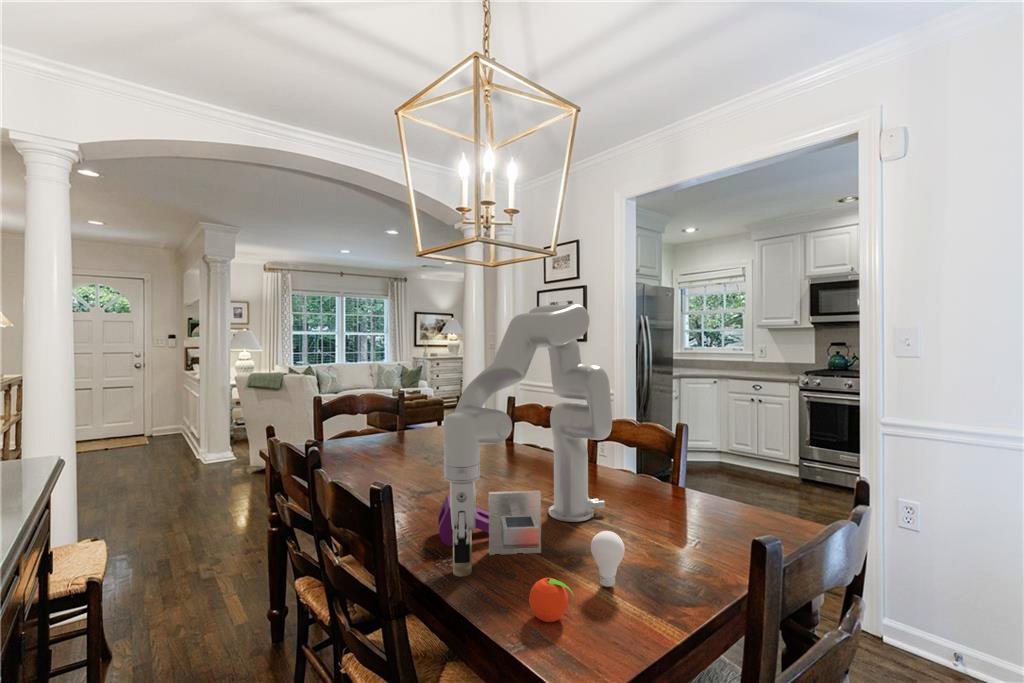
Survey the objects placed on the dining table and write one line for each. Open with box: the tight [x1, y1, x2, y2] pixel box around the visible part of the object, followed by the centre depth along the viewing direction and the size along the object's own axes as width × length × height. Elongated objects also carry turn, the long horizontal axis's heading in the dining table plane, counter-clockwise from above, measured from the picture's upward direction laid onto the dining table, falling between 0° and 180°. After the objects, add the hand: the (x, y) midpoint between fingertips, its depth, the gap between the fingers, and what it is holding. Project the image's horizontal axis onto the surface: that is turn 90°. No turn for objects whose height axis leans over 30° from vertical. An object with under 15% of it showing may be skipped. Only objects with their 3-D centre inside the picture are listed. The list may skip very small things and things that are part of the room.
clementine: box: [528, 577, 575, 623], centre depth 86 cm, size 8×7×7 cm
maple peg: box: [452, 526, 473, 578], centre depth 103 cm, size 4×4×12 cm
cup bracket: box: [488, 489, 542, 556], centre depth 106 cm, size 12×15×14 cm
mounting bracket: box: [437, 494, 489, 547], centre depth 122 cm, size 9×8×18 cm
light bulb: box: [590, 530, 626, 589], centre depth 97 cm, size 7×7×11 cm
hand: (462, 556), depth 103 cm, fingers closed on maple peg, 4 cm apart
